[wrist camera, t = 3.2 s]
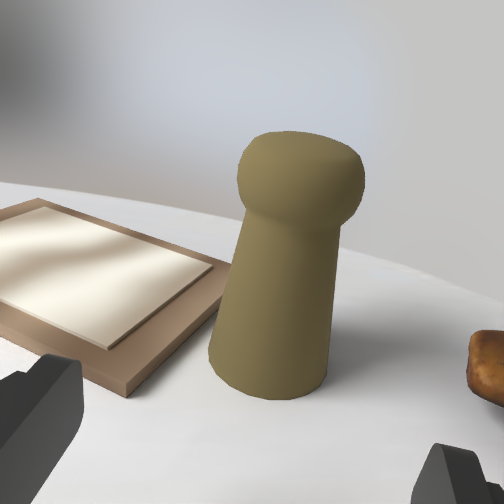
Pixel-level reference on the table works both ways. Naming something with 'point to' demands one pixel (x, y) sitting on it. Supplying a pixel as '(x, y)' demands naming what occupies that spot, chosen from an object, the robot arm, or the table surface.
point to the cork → (285, 264)
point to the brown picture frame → (100, 292)
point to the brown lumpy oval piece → (487, 365)
